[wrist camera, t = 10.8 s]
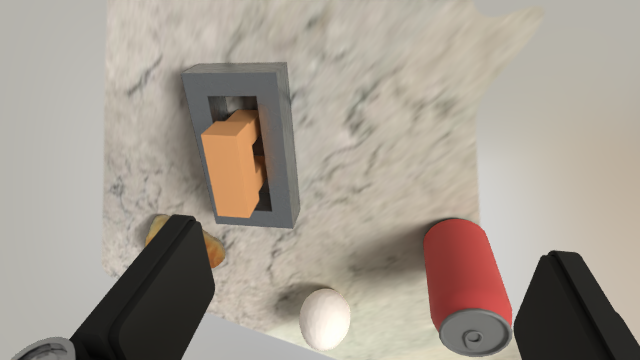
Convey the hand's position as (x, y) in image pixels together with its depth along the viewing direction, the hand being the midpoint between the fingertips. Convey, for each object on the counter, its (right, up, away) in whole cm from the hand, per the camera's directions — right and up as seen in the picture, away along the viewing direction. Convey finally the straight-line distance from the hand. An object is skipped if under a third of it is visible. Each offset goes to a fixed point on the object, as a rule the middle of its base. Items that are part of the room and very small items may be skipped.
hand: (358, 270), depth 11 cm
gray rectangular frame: (-8, +6, +28) cm, 29 cm away
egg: (0, -12, +37) cm, 39 cm away
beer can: (+13, -4, +30) cm, 33 cm away
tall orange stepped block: (-8, +6, +28) cm, 29 cm away
